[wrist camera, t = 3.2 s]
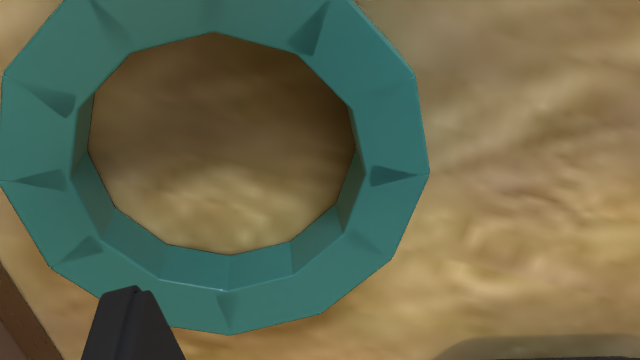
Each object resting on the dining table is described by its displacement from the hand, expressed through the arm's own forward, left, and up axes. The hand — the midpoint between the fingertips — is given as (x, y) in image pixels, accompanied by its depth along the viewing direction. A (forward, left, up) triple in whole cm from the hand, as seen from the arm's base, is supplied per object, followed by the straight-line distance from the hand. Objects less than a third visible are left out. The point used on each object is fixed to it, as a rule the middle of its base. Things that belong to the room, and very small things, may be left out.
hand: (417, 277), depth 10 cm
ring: (+4, 0, -8) cm, 9 cm away
